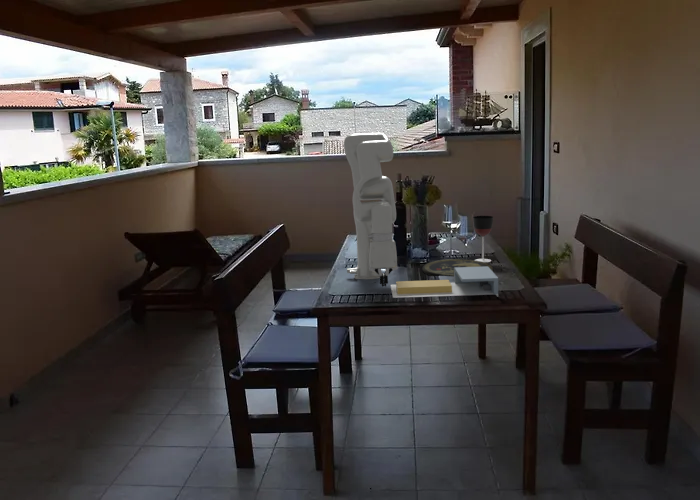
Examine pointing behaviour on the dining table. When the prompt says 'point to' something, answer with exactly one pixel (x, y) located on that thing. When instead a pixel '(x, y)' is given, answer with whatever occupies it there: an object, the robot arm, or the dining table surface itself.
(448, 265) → the decorative plate
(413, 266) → the dining table surface
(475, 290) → the overhang dock
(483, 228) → the wineglass
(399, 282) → the ochre panel
